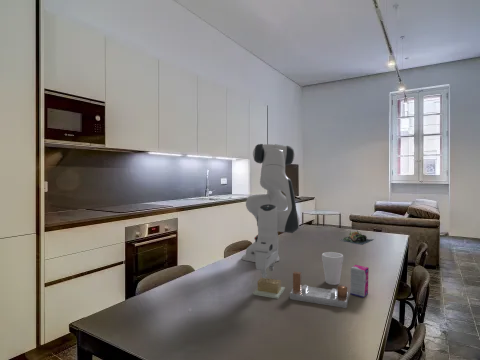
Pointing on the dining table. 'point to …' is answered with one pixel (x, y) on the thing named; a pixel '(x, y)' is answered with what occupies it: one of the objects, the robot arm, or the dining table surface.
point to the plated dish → (356, 238)
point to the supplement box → (359, 281)
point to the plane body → (318, 293)
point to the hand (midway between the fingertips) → (268, 273)
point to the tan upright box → (269, 285)
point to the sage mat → (269, 293)
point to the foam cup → (332, 267)
